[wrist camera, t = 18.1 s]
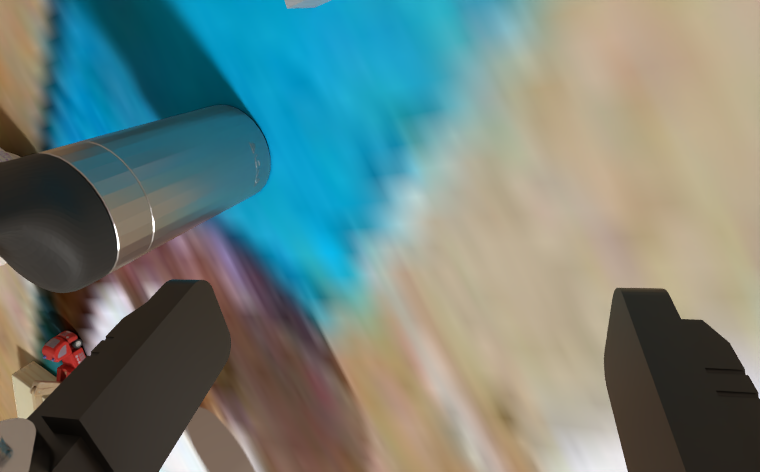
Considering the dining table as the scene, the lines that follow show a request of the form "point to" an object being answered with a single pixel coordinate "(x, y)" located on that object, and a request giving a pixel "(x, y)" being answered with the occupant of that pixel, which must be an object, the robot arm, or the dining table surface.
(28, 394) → the puzzle box
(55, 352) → the toy fire truck
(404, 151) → the dining table surface
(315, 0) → the light gray block
